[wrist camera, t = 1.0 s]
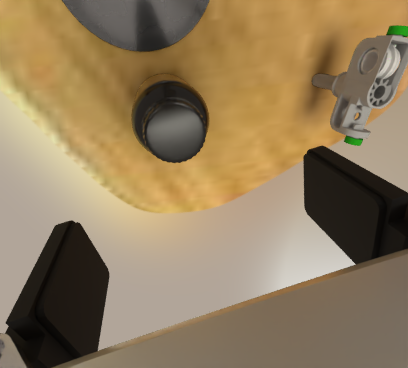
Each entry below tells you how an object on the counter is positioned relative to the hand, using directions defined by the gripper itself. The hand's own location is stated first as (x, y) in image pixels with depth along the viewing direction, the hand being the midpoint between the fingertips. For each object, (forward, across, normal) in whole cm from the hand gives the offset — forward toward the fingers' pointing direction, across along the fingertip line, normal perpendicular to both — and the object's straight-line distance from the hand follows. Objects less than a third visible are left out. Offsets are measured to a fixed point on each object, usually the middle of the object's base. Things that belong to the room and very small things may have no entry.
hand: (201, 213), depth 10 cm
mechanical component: (+22, -19, +2) cm, 29 cm away
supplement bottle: (+22, 0, 0) cm, 22 cm away
